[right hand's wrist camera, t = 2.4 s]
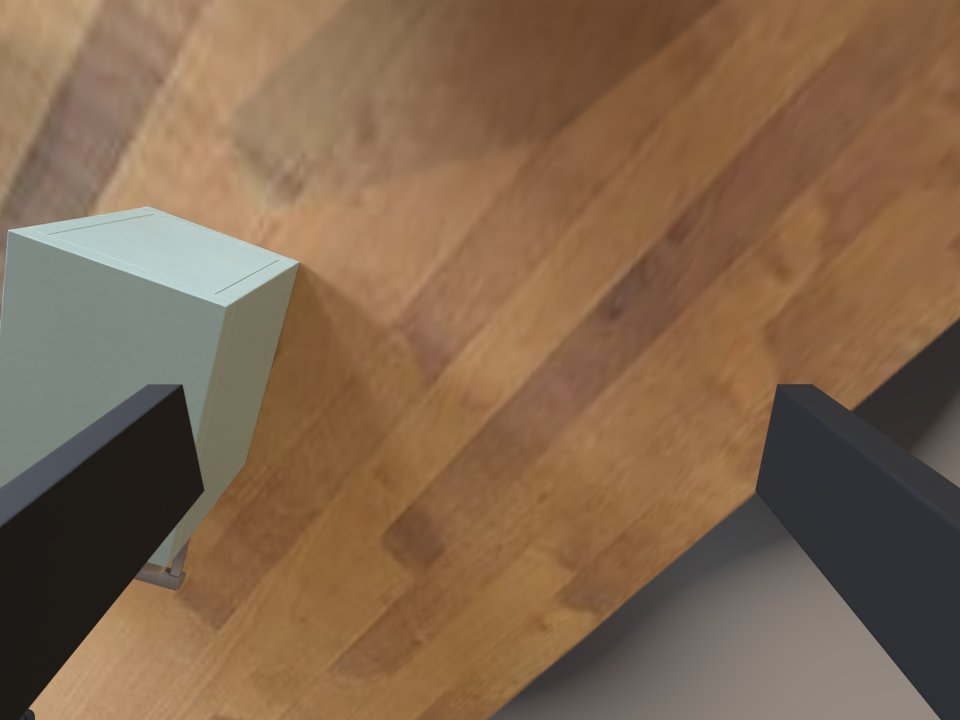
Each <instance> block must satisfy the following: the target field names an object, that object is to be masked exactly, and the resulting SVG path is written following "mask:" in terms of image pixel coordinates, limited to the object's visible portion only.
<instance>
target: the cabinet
mask: <svg viewBox="0 0 960 720" xmlns="http://www.w3.org/2000/svg"><path fill="white" fill-rule="evenodd" d="M299 263H300V262H299V261H296V260H293V259H290V258H288V257H285V256H282V255H280V254H277V253H274V252H271V251H269V250H266V249H263V248H261V247H258V246H255V245H252V244H250V243H247V242H244V241H242V240H239V239H236V238H233V237H231V236H228V235H225V234H222V233H220V232H217V231H214V230H212V229H209V228H206V227H203V226H201V225H198V224H195V223H193V222H190V221H187V220H184V219H182V218H179V217H176V216H174V215H171V214H168V213H165V212H163V211H160V210H157V209H154V208H152V207H143V208H138V209H132V210H126V211H120V212H114V213H109V214H103V215H97V216H91V217H85V218H79V219H73V220H67V221H61V222H55V223H49V224H43V225H37V226H31V227H26V228H25V227H24V228H18V229H12V230H9V231H8V240H7V253H6V265H5V277H4V290H3V302H2V314H1V327H0V488H1V487H3V486H4V485H5V484H7V483H8V482H10V481H11V480H13V479H14V478H15V477H17V476H18V475H20V474H21V473H22V472H24V471H25V470H27V469H28V468H30V467H31V466H32V465H34V464H35V463H37V462H38V461H40V460H41V459H42V458H44V457H45V456H47V455H48V454H49V453H51V452H52V451H54V450H55V449H57V448H58V447H59V446H61V445H62V444H64V443H65V442H67V441H68V440H69V439H71V438H72V437H74V436H75V435H76V434H78V433H79V432H81V431H82V430H84V429H85V428H86V427H88V426H89V425H91V424H92V423H94V422H95V421H96V420H98V419H99V418H101V417H102V416H104V415H105V414H106V413H108V412H109V411H111V410H112V409H113V408H115V407H116V406H118V405H119V404H121V403H122V402H123V401H125V400H126V399H128V398H129V397H131V396H132V395H133V394H135V393H136V392H138V391H139V390H140V389H142V388H143V387H145V386H146V385H148V384H183V389H184V393H185V398H186V403H187V408H188V413H189V418H190V422H191V427H192V432H193V437H194V442H195V446H196V451H197V456H198V461H199V466H200V471H201V475H202V480H203V485H204V490H205V491H204V492H203V493H202V495H201V496H200V497H199V498H198V499H197V501H196V502H195V503H194V504H193V506H192V507H191V508H190V509H189V511H188V512H187V513H186V514H185V516H184V517H183V518H182V519H181V520H180V522H179V523H178V524H177V525H176V527H175V528H174V529H173V530H172V532H171V533H170V534H169V535H168V537H167V538H166V539H165V540H164V541H163V543H162V544H161V545H160V546H159V548H158V549H157V550H156V551H155V553H154V554H153V555H152V556H151V558H150V559H149V560H148V561H147V562H148V563H152V564H155V565H159V566H162V567H166V568H167V567H168V566H169V564H170V563H171V562H172V560H173V559H174V558H175V556H176V555H177V554H178V552H179V551H180V550H181V548H182V547H183V546H184V544H185V543H186V542H187V540H188V539H189V538H190V536H191V535H192V534H193V532H194V531H195V530H196V528H197V527H198V526H199V524H200V523H201V522H202V520H203V519H204V518H205V516H206V515H207V514H208V512H209V511H210V510H211V508H212V507H213V506H214V504H215V503H216V502H217V500H218V499H219V498H220V496H221V495H222V494H223V492H224V491H225V490H226V488H227V487H228V486H229V484H230V483H231V482H232V480H233V479H234V478H235V476H236V475H237V474H238V472H239V471H240V470H241V469H242V467H243V466H244V465H245V463H246V460H247V456H248V452H249V449H250V445H251V441H252V438H253V434H254V430H255V426H256V423H257V419H258V415H259V412H260V408H261V404H262V400H263V397H264V393H265V389H266V386H267V382H268V378H269V375H270V371H271V367H272V363H273V360H274V356H275V352H276V349H277V345H278V341H279V337H280V334H281V330H282V326H283V323H284V319H285V315H286V312H287V308H288V304H289V300H290V297H291V293H292V289H293V286H294V282H295V278H296V274H297V271H298V267H299Z"/></svg>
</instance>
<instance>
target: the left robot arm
mask: <svg viewBox="0 0 960 720" xmlns="http://www.w3.org/2000/svg"><path fill="white" fill-rule="evenodd" d="M19 720H35V715H34V712H33V711H32V710H30V709H27V711H26V712H25V713H24V714H23V716H22V717H21V718H20V719H19Z"/></svg>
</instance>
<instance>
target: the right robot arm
mask: <svg viewBox="0 0 960 720" xmlns="http://www.w3.org/2000/svg"><path fill="white" fill-rule="evenodd" d="M204 491H205V490H204V485H203V480H202V475H201V471H200V466H199V461H198V456H197V451H196V446H195V442H194V437H193V432H192V427H191V422H190V418H189V413H188V408H187V403H186V398H185V393H184V389H183V384H148V385H146V386H145V387H143V388H142V389H140V390H139V391H138V392H136V393H135V394H133V395H132V396H131V397H129V398H128V399H126V400H125V401H123V402H122V403H121V404H119V405H118V406H116V407H115V408H113V409H112V410H111V411H109V412H108V413H106V414H105V415H104V416H102V417H101V418H99V419H98V420H96V421H95V422H94V423H92V424H91V425H89V426H88V427H86V428H85V429H84V430H82V431H81V432H79V433H78V434H76V435H75V436H74V437H72V438H71V439H69V440H68V441H67V442H65V443H64V444H62V445H61V446H59V447H58V448H57V449H55V450H54V451H52V452H51V453H49V454H48V455H47V456H45V457H44V458H42V459H41V460H40V461H38V462H37V463H35V464H34V465H32V466H31V467H30V468H28V469H27V470H25V471H24V472H22V473H21V474H20V475H18V476H17V477H15V478H14V479H13V480H11V481H10V482H8V483H7V484H5V485H4V486H3V487H1V488H0V720H19V719H20V718H21V717H22V716H23V714H24V713H25V712H26V711H27V709H28V708H29V707H30V706H31V704H32V703H33V702H34V701H35V700H36V698H37V697H38V696H39V695H40V693H41V692H42V691H43V690H44V688H45V687H46V686H47V685H48V683H49V682H50V681H51V680H52V679H53V677H54V676H55V675H56V674H57V672H58V671H59V670H60V669H61V667H62V666H63V665H64V664H65V662H66V661H67V660H68V659H69V658H70V656H71V655H72V654H73V653H74V651H75V650H76V649H77V648H78V646H79V645H80V644H81V643H82V641H83V640H84V639H85V638H86V637H87V635H88V634H89V633H90V632H91V630H92V629H93V628H94V627H95V625H96V624H97V623H98V622H99V620H100V619H101V618H102V617H103V616H104V614H105V613H106V612H107V611H108V609H109V608H110V607H111V606H112V604H113V603H114V602H115V601H116V600H117V598H118V597H119V596H120V595H121V593H122V592H123V591H124V590H125V588H126V587H127V586H128V585H129V583H130V582H131V581H132V580H133V579H134V577H135V576H136V575H137V574H138V572H139V571H140V570H141V569H142V567H143V566H144V565H145V564H146V562H147V561H148V560H149V559H150V558H151V556H152V555H153V554H154V553H155V551H156V550H157V549H158V548H159V546H160V545H161V544H162V543H163V541H164V540H165V539H166V538H167V537H168V535H169V534H170V533H171V532H172V530H173V529H174V528H175V527H176V525H177V524H178V523H179V522H180V520H181V519H182V518H183V517H184V516H185V514H186V513H187V512H188V511H189V509H190V508H191V507H192V506H193V504H194V503H195V502H196V501H197V499H198V498H199V497H200V496H201V495H202V493H203V492H204ZM755 491H756V492H757V493H758V495H759V496H760V497H761V498H762V499H763V501H764V502H765V503H766V504H767V506H768V507H769V508H770V509H771V511H772V512H773V513H774V514H775V515H776V517H777V518H778V519H779V520H780V522H781V523H782V524H783V525H784V527H785V528H786V529H787V530H788V532H789V533H790V534H791V535H792V537H793V538H794V539H795V540H796V541H797V543H798V544H799V545H800V546H801V548H802V549H803V550H804V551H805V553H806V554H807V555H808V556H809V558H810V559H811V560H812V561H813V562H814V564H815V565H816V566H817V567H818V569H819V570H820V571H821V572H822V574H823V575H824V576H825V577H826V579H827V580H828V581H829V582H830V583H831V585H832V586H833V587H834V588H835V590H836V591H837V592H838V593H839V595H840V596H841V597H842V598H843V600H844V601H845V602H846V603H847V604H848V606H849V607H850V608H851V609H852V611H853V612H854V613H855V614H856V615H857V617H858V618H859V619H860V620H861V622H862V623H863V624H864V625H865V627H866V628H867V629H868V630H869V632H870V633H871V634H872V635H873V637H874V638H875V639H876V640H877V641H878V643H879V644H880V645H881V646H882V648H883V649H884V650H885V651H886V653H887V654H888V655H889V656H890V657H891V659H892V660H893V661H894V662H895V664H896V665H897V666H898V667H899V669H900V670H901V671H902V672H903V674H904V675H905V676H906V677H907V679H908V680H909V681H910V682H911V683H912V685H913V686H914V687H915V688H916V690H917V691H918V692H919V693H920V695H921V696H922V697H923V698H924V700H925V701H926V702H927V703H928V704H929V706H930V707H931V708H932V709H933V711H934V712H935V713H936V714H937V715H938V717H939V718H940V719H941V720H960V488H959V487H957V486H956V485H955V484H953V483H952V482H950V481H949V480H947V479H946V478H945V477H943V476H942V475H940V474H939V473H938V472H936V471H935V470H933V469H932V468H930V467H929V466H928V465H926V464H925V463H923V462H922V461H920V460H919V459H918V458H916V457H915V456H913V455H912V454H910V453H909V452H908V451H906V450H905V449H903V448H902V447H901V446H899V445H898V444H896V443H895V442H893V441H892V440H891V439H889V438H888V437H886V436H885V435H884V434H882V433H881V432H879V431H878V430H876V429H875V428H874V427H872V426H871V425H869V424H868V423H866V422H865V421H864V420H862V419H861V418H859V417H858V416H856V415H855V414H854V413H852V412H851V411H849V410H848V409H847V408H845V407H844V406H842V405H841V404H839V403H838V402H837V401H835V400H834V399H832V398H831V397H829V396H828V395H827V394H825V393H824V392H822V391H821V390H820V389H818V388H817V387H815V386H814V385H812V384H777V389H776V393H775V398H774V403H773V408H772V413H771V418H770V422H769V427H768V432H767V437H766V442H765V446H764V451H763V456H762V461H761V466H760V471H759V475H758V480H757V485H756V490H755Z"/></svg>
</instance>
